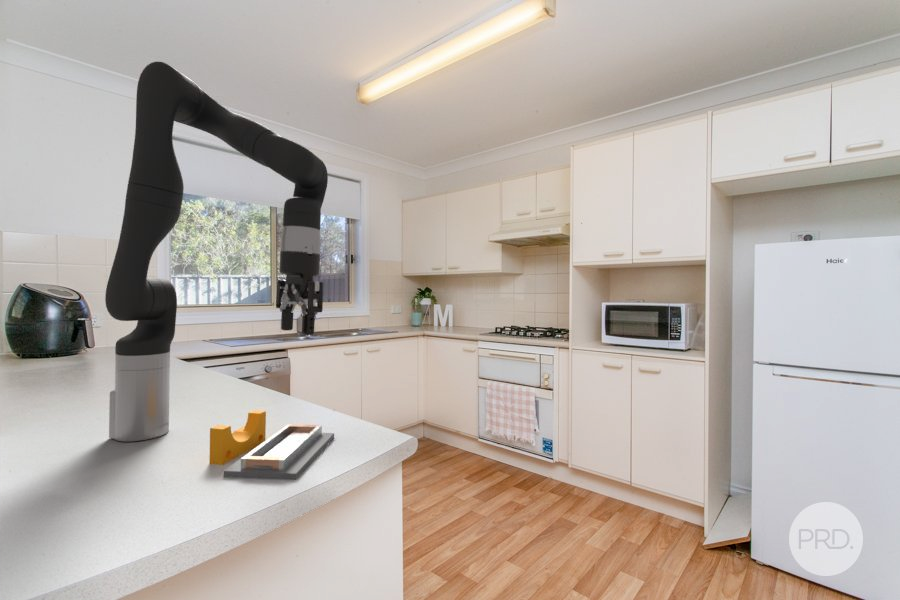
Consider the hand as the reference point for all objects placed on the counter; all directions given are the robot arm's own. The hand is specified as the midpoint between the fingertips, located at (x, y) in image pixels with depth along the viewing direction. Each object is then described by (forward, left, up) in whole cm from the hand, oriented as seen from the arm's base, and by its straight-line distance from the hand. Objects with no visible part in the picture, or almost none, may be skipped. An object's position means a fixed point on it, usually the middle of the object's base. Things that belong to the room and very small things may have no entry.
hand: (296, 332), depth 82 cm
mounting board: (0, -5, -23) cm, 23 cm away
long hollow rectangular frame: (0, -5, -23) cm, 23 cm away
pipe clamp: (-10, -4, -23) cm, 25 cm away
